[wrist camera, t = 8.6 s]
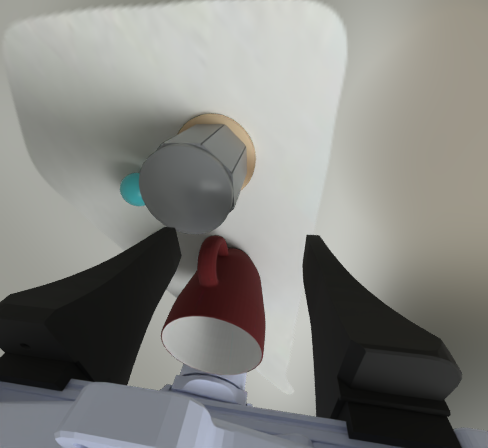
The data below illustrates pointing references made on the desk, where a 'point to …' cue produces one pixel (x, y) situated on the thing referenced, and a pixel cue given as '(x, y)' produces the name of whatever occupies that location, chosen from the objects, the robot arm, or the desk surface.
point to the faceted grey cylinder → (195, 178)
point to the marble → (131, 190)
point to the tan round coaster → (236, 129)
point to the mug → (218, 313)
